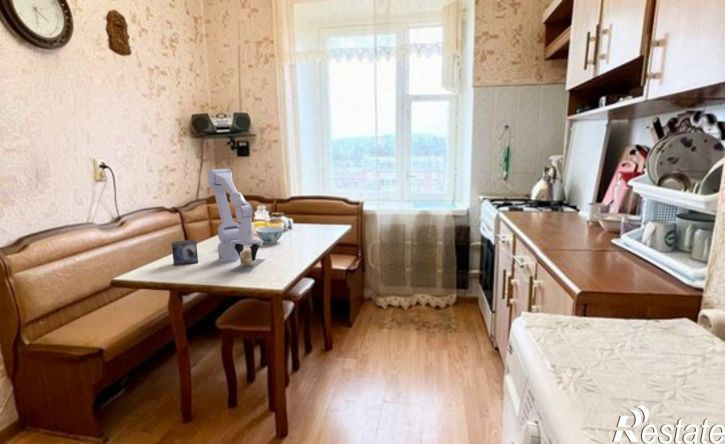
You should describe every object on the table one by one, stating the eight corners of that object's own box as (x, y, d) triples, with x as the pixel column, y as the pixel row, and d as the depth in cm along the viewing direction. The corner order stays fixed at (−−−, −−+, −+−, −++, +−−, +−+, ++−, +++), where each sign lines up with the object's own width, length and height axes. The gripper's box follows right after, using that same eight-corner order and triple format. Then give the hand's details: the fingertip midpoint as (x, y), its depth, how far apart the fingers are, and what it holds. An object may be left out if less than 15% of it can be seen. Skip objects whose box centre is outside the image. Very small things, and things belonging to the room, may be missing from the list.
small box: (174, 266, 185) (171, 244, 183) (173, 263, 190) (171, 241, 188) (198, 263, 190) (196, 241, 187) (197, 259, 195) (195, 239, 193)
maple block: (240, 265, 182) (239, 252, 180) (245, 261, 187) (244, 249, 185) (251, 265, 181) (250, 252, 180) (255, 262, 186) (254, 249, 185)
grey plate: (229, 272, 175) (229, 272, 175) (248, 259, 194) (248, 258, 194) (249, 273, 174) (249, 272, 174) (265, 259, 193) (265, 259, 193)
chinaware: (289, 241, 229) (288, 227, 227) (270, 247, 216) (269, 233, 215) (270, 238, 237) (269, 225, 235) (251, 243, 224) (250, 230, 223)
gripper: (226, 233, 178) (229, 262, 180) (257, 233, 176) (259, 263, 179) (233, 229, 185) (235, 257, 187) (263, 229, 183) (265, 258, 186)
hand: (248, 260), depth 183 cm, fingers closed on maple block, 5 cm apart
